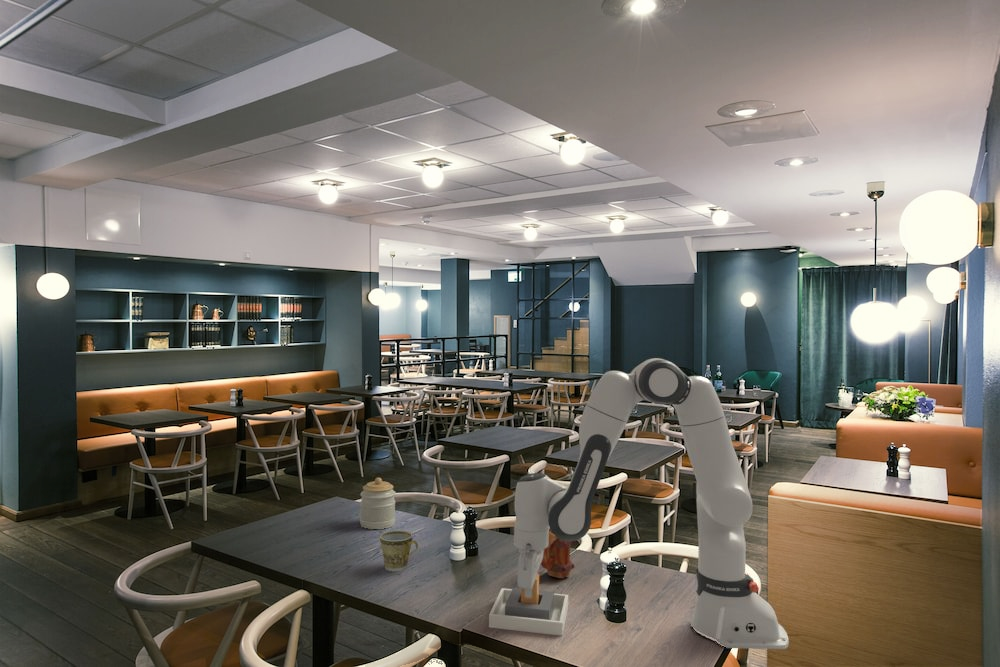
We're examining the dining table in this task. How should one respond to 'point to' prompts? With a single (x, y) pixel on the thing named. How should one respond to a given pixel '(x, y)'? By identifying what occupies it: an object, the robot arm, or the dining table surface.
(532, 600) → the plug
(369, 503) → the jar
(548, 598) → the socket block
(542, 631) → the walled box
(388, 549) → the ceramic cup
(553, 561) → the mug
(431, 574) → the dining table surface
